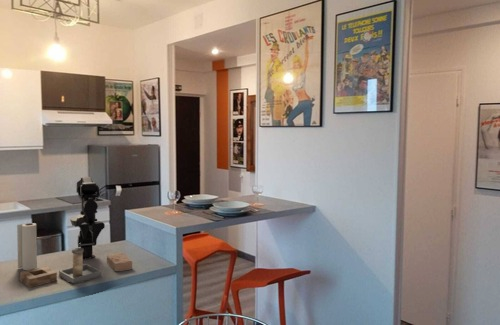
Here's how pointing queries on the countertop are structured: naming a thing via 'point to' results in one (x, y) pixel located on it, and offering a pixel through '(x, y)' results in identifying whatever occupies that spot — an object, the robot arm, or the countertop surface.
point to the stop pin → (77, 262)
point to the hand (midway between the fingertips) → (89, 240)
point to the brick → (119, 262)
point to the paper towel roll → (27, 246)
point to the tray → (88, 274)
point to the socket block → (38, 276)
